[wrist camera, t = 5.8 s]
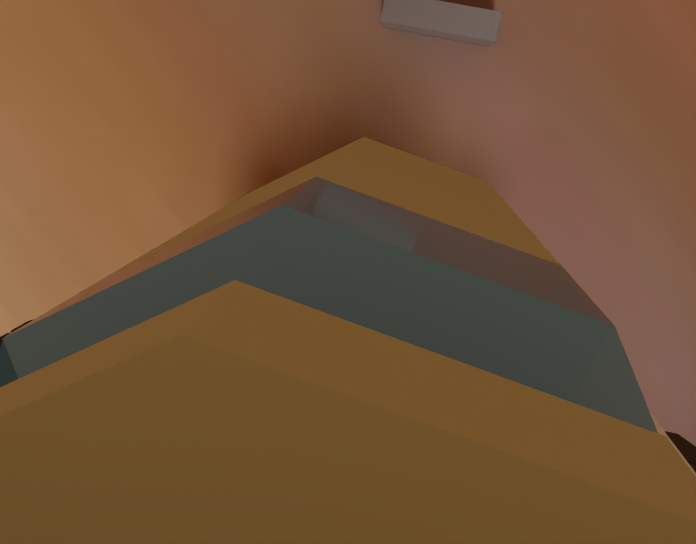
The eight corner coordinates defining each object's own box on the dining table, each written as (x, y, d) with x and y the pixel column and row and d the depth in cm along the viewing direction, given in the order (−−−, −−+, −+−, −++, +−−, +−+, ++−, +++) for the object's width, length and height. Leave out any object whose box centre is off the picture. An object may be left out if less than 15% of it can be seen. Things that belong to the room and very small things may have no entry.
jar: (362, 63, 17) (125, -93, 3) (598, 285, 18) (1272, 967, 4) (164, 297, 20) (-497, 832, 5) (382, 482, 21) (316, 1355, 6)
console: (240, 490, 38) (191, 597, 30) (316, -13, 30) (278, -51, 22) (437, 534, 38) (442, 657, 30) (569, 32, 30) (625, 11, 21)
